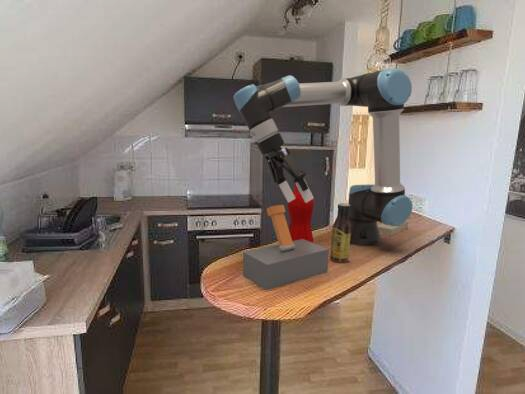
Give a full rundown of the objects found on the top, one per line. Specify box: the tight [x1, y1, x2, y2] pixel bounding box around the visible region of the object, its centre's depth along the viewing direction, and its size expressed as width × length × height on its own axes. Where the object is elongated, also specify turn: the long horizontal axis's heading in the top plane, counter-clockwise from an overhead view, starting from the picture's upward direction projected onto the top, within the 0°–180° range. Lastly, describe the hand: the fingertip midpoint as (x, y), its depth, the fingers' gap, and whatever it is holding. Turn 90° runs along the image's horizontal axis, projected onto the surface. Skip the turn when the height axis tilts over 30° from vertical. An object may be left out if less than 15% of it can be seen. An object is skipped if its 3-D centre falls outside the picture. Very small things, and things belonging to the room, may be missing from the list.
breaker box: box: [242, 239, 330, 291], centre depth 107 cm, size 24×12×8 cm, turn 126°
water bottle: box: [286, 183, 315, 244], centre depth 127 cm, size 9×11×25 cm
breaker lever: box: [266, 204, 295, 252], centre depth 108 cm, size 5×3×14 cm, turn 126°
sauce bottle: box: [329, 202, 351, 263], centre depth 119 cm, size 6×6×20 cm
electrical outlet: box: [377, 219, 409, 237], centre depth 159 cm, size 7×4×18 cm
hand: (300, 200), depth 106 cm, fingers open, 13 cm apart
